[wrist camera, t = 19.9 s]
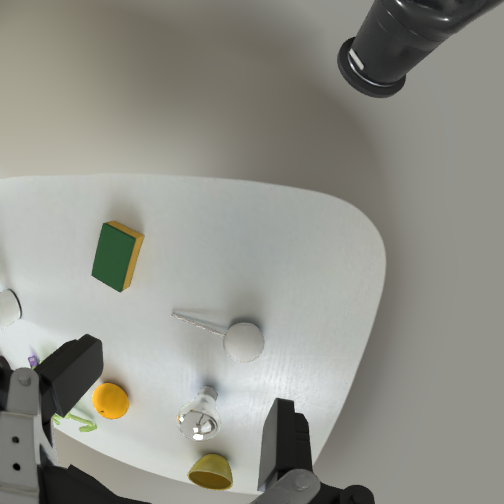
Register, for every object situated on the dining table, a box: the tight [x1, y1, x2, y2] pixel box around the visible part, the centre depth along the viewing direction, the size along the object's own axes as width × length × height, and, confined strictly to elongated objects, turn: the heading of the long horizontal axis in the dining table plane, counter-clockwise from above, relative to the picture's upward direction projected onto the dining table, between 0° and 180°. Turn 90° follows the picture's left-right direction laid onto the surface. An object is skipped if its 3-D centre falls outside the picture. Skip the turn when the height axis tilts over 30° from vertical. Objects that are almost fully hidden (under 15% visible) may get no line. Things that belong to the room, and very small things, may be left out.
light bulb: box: [177, 387, 221, 442], centre depth 38 cm, size 7×7×12 cm
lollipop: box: [172, 313, 264, 363], centre depth 38 cm, size 6×6×15 cm
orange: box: [92, 383, 129, 419], centre depth 43 cm, size 8×8×8 cm
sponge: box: [92, 221, 144, 292], centre depth 38 cm, size 9×6×3 cm, turn 156°
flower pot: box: [188, 454, 233, 490], centre depth 45 cm, size 10×10×7 cm
